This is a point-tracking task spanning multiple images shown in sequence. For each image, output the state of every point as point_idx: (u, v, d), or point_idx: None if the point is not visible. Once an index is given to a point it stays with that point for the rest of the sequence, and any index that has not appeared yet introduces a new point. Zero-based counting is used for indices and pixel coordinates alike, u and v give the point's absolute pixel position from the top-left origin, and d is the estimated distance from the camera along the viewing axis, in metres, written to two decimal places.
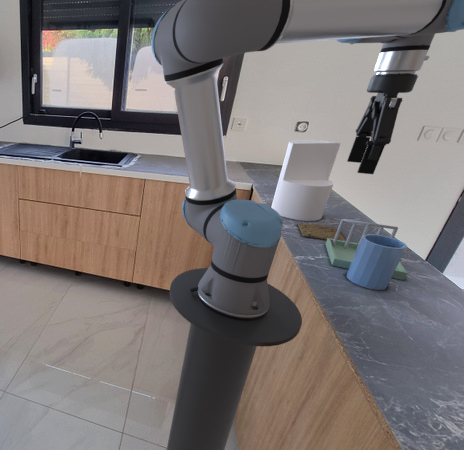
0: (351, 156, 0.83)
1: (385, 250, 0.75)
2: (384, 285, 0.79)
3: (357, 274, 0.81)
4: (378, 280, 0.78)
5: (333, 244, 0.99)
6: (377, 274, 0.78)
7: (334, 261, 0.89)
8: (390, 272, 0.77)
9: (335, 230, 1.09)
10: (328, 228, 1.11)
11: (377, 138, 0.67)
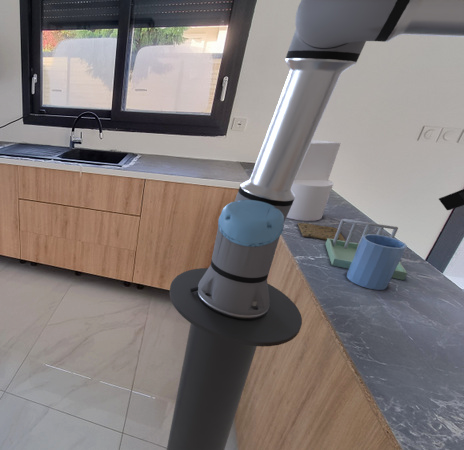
0: None
1: (385, 250, 0.75)
2: (384, 285, 0.79)
3: (357, 274, 0.81)
4: (378, 280, 0.78)
5: (333, 244, 0.99)
6: (377, 274, 0.78)
7: (334, 261, 0.89)
8: (390, 272, 0.77)
9: (335, 230, 1.09)
10: (328, 228, 1.11)
11: None
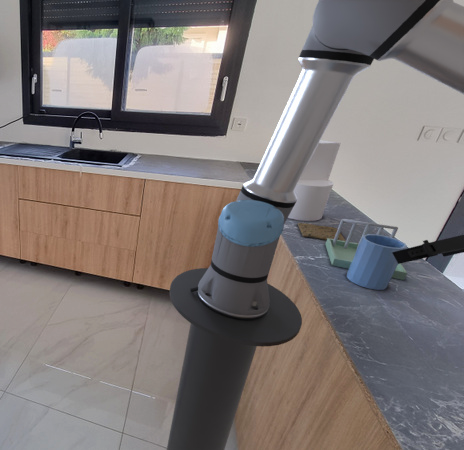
0: None
1: (385, 250, 0.75)
2: (384, 285, 0.79)
3: (357, 274, 0.81)
4: (378, 280, 0.78)
5: (333, 244, 0.99)
6: (377, 274, 0.78)
7: (334, 261, 0.89)
8: (390, 272, 0.77)
9: (335, 230, 1.09)
10: (328, 228, 1.11)
11: (428, 244, 0.62)
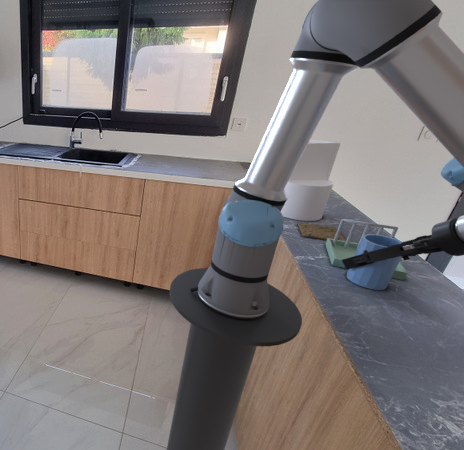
0: None
1: None
2: (384, 285, 0.79)
3: (357, 274, 0.81)
4: (378, 280, 0.78)
5: (333, 244, 0.99)
6: (377, 274, 0.78)
7: (334, 261, 0.89)
8: (390, 272, 0.77)
9: (335, 230, 1.09)
10: (328, 228, 1.11)
11: (365, 254, 0.76)
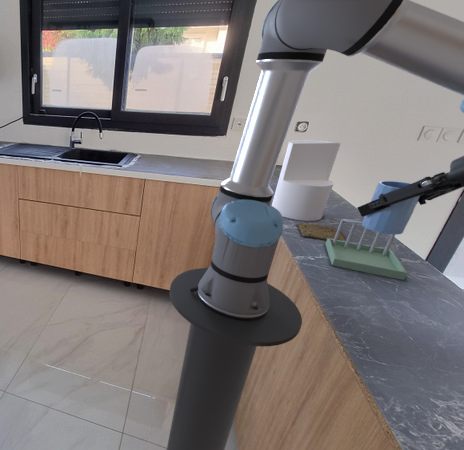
0: None
1: None
2: (400, 229, 0.79)
3: (373, 220, 0.81)
4: (395, 224, 0.79)
5: (333, 244, 0.99)
6: (394, 218, 0.78)
7: (334, 261, 0.89)
8: (407, 215, 0.77)
9: (335, 230, 1.09)
10: (328, 228, 1.11)
11: (381, 196, 0.76)
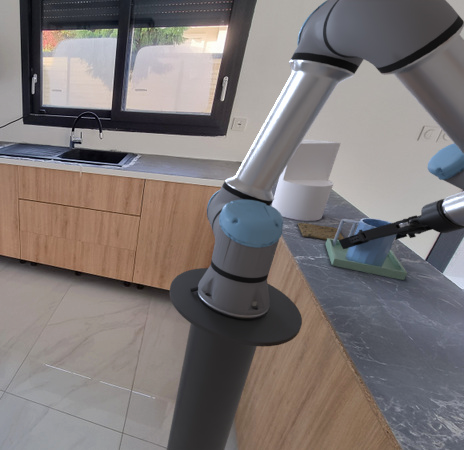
0: None
1: None
2: (380, 264, 0.86)
3: (355, 254, 0.89)
4: (374, 259, 0.86)
5: (333, 244, 0.99)
6: (373, 254, 0.85)
7: (334, 261, 0.89)
8: (385, 252, 0.85)
9: (335, 230, 1.09)
10: (328, 228, 1.11)
11: (361, 232, 0.81)
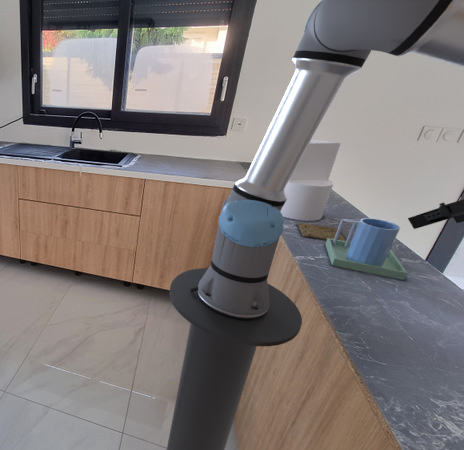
0: None
1: (380, 231, 0.83)
2: (380, 264, 0.86)
3: (355, 254, 0.89)
4: (374, 259, 0.86)
5: (333, 244, 0.99)
6: (373, 254, 0.85)
7: (334, 261, 0.89)
8: (385, 252, 0.85)
9: (335, 230, 1.09)
10: (328, 228, 1.11)
11: (445, 205, 0.64)
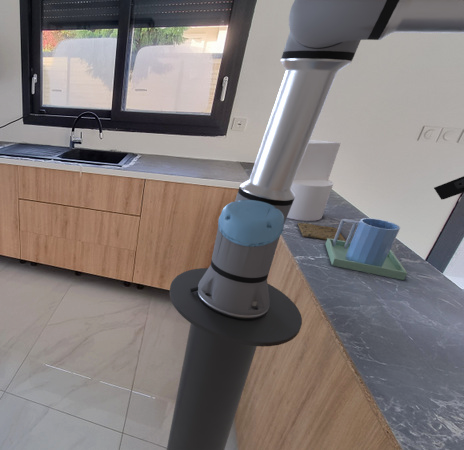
0: None
1: (380, 231, 0.83)
2: (380, 264, 0.86)
3: (355, 254, 0.89)
4: (374, 259, 0.86)
5: (333, 244, 0.99)
6: (373, 254, 0.85)
7: (334, 261, 0.89)
8: (385, 252, 0.85)
9: (335, 230, 1.09)
10: (328, 228, 1.11)
11: None
